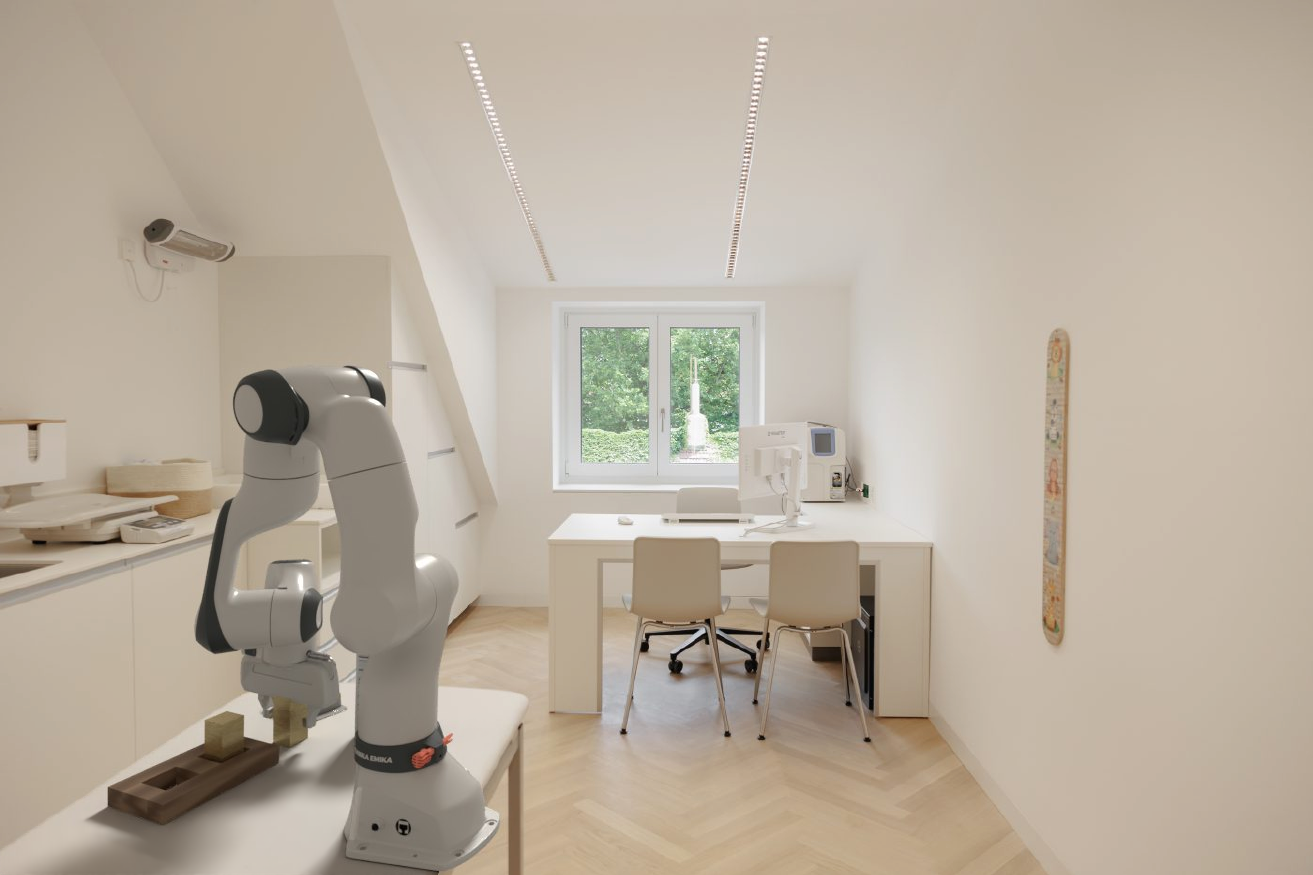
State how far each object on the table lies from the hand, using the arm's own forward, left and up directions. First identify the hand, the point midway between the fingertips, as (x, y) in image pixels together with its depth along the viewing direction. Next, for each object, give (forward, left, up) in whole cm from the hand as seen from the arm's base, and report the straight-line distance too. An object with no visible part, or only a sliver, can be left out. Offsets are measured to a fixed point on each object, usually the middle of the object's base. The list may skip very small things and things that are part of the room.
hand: (289, 721), depth 131 cm
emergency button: (+9, -12, -4) cm, 15 cm away
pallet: (+1, +17, -3) cm, 17 cm away
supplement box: (-13, -11, -4) cm, 18 cm away
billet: (0, 0, -4) cm, 4 cm away
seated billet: (+1, +12, -4) cm, 13 cm away
